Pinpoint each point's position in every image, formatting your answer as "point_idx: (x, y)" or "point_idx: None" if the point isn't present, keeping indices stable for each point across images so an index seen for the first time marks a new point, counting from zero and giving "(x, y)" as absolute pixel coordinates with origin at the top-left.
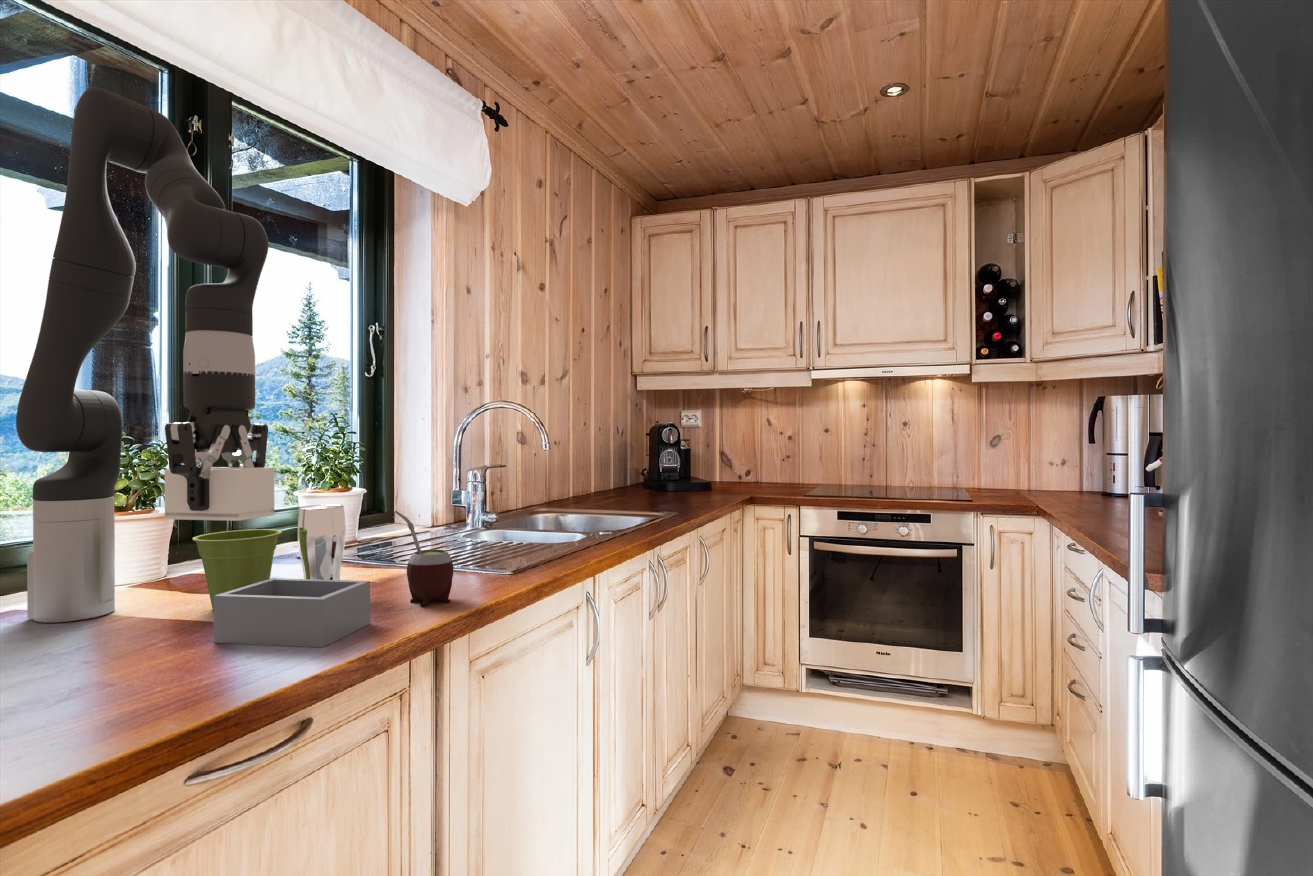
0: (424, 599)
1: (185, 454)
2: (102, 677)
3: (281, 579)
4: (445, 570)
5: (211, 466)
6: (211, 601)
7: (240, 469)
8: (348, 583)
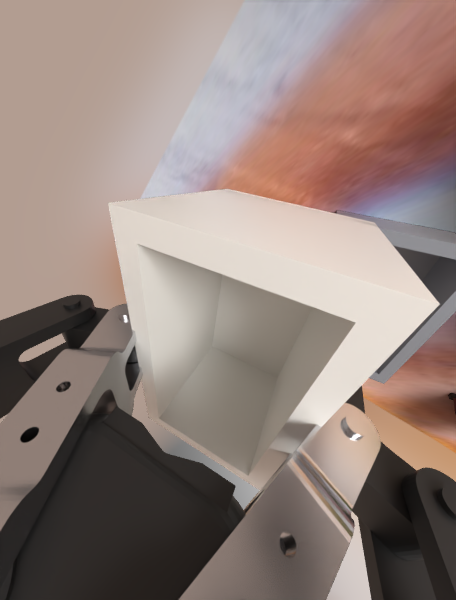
0: (454, 403)
1: (28, 369)
2: (228, 164)
3: None
4: None
5: (137, 383)
6: None
7: (163, 422)
8: (387, 363)
